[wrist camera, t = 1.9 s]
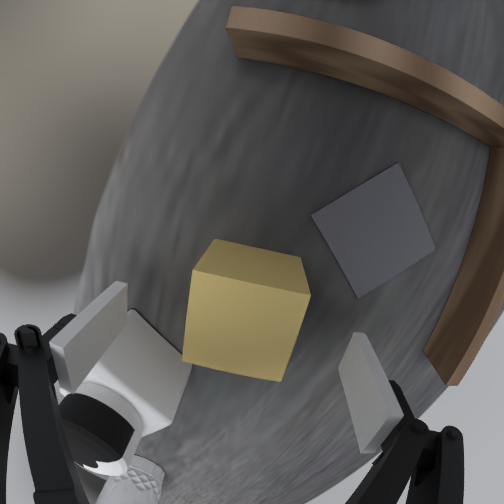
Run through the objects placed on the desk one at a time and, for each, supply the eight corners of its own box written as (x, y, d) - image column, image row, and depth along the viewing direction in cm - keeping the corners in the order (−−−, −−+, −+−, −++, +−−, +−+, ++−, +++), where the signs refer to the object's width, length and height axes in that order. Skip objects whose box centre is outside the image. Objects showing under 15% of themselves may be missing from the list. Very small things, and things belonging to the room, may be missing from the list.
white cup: (150, 481, 33) (133, 529, 23) (108, 455, 31) (85, 504, 22) (179, 474, 31) (164, 531, 21) (133, 446, 29) (108, 504, 20)
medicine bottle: (94, 344, 24) (26, 429, 13) (133, 306, 22) (51, 406, 11) (149, 393, 25) (104, 488, 14) (195, 364, 24) (153, 481, 12)
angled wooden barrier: (503, 137, 16) (543, 139, 11) (434, 351, 22) (457, 385, 17) (241, 39, 16) (232, 5, 11) (189, 310, 22) (170, 348, 17)
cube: (300, 256, 20) (310, 295, 14) (279, 329, 22) (280, 381, 16) (214, 238, 20) (192, 269, 14) (202, 312, 22) (181, 360, 16)
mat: (452, 184, 17) (453, 184, 17) (411, 307, 21) (412, 309, 20) (327, 140, 17) (328, 139, 17) (291, 284, 21) (291, 285, 20)
